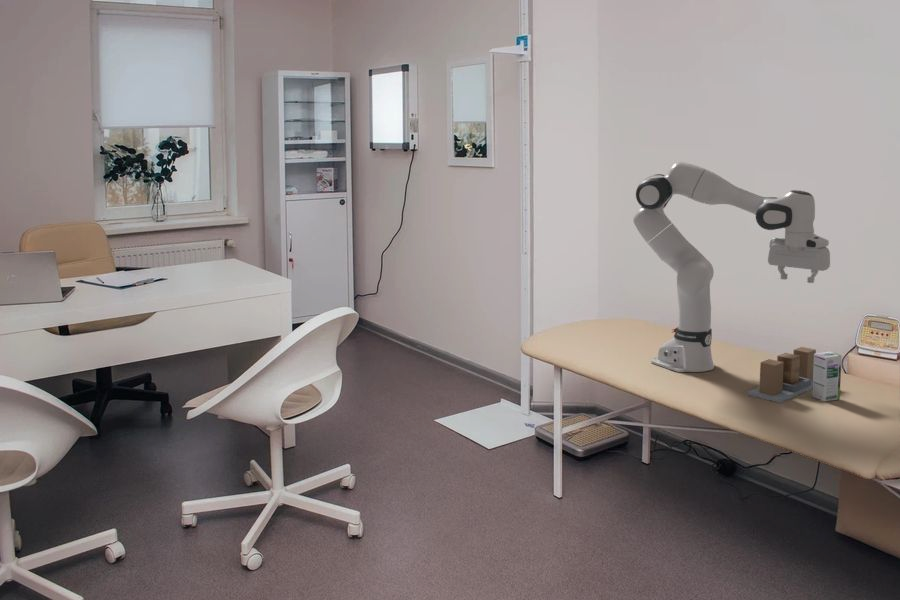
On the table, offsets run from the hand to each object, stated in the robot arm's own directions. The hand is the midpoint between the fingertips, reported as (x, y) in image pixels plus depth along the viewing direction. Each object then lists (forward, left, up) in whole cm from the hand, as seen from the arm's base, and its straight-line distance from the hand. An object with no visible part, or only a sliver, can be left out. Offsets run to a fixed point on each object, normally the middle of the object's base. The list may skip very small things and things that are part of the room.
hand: (797, 280), depth 277 cm
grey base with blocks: (+6, -14, -33) cm, 36 cm away
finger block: (+6, -14, -32) cm, 35 cm away
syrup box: (+19, -14, -33) cm, 41 cm away
